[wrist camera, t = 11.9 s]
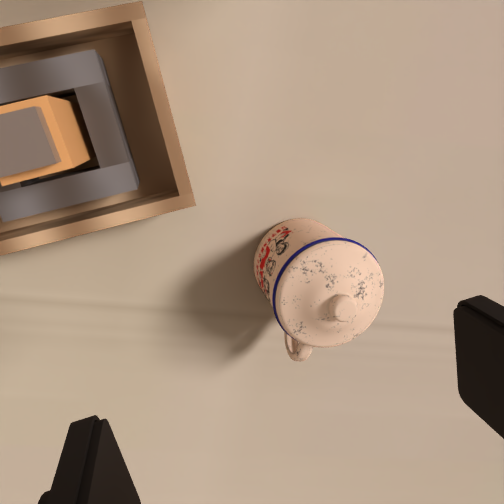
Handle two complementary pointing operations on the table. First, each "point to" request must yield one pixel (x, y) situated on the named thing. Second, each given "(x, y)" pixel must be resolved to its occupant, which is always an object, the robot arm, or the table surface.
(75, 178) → the oak box
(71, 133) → the block
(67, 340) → the table surface
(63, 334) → the table surface
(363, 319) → the teacup with lid
